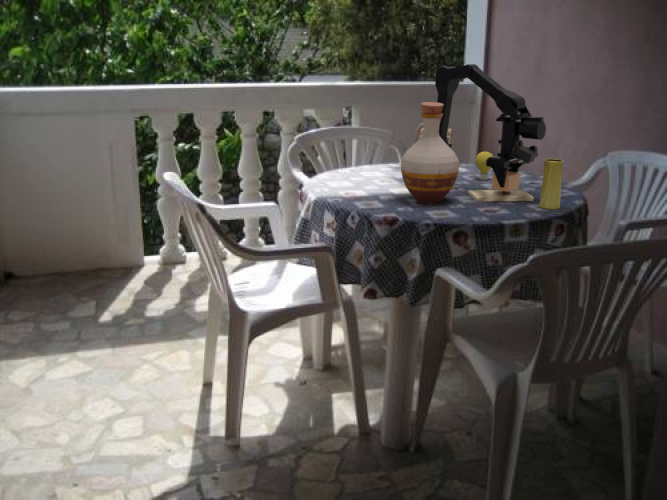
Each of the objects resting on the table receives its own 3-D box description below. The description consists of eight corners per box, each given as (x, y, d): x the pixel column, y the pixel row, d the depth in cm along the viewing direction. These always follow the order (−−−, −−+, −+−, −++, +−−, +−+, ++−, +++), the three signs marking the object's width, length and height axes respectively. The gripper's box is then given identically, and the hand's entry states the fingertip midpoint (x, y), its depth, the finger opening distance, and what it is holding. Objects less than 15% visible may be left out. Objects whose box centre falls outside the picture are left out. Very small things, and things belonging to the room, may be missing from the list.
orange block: (519, 188, 227) (520, 173, 226) (508, 191, 223) (509, 176, 222) (502, 185, 231) (503, 170, 230) (491, 188, 227) (492, 173, 226)
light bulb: (497, 179, 255) (499, 152, 252) (483, 181, 251) (485, 153, 248) (483, 176, 260) (485, 149, 257) (470, 178, 256) (471, 151, 253)
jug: (388, 195, 229) (390, 100, 221) (437, 191, 236) (441, 99, 227) (415, 209, 212) (419, 106, 203) (468, 204, 218) (474, 104, 209)
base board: (476, 201, 222) (477, 188, 220) (467, 193, 232) (468, 181, 231) (533, 200, 223) (534, 188, 222) (521, 193, 233) (522, 181, 232)
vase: (536, 204, 218) (540, 158, 214) (557, 204, 218) (561, 158, 214) (541, 209, 212) (546, 161, 208) (562, 209, 212) (567, 161, 208)
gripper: (520, 142, 210) (516, 194, 215) (548, 136, 224) (543, 185, 228) (486, 139, 217) (483, 189, 222) (515, 132, 231) (511, 180, 235)
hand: (506, 186), depth 227 cm, fingers closed on orange block, 6 cm apart
